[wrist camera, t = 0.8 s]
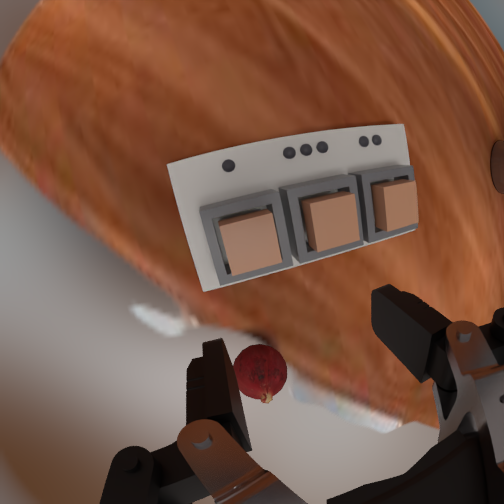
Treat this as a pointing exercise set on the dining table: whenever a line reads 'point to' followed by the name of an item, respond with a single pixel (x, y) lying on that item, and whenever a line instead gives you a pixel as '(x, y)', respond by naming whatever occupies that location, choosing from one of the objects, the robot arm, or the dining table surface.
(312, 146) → the button panel
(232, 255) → the button one
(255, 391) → the onion
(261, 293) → the dining table surface
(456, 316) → the dining table surface
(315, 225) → the button three
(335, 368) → the dining table surface
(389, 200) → the button two
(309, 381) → the dining table surface
